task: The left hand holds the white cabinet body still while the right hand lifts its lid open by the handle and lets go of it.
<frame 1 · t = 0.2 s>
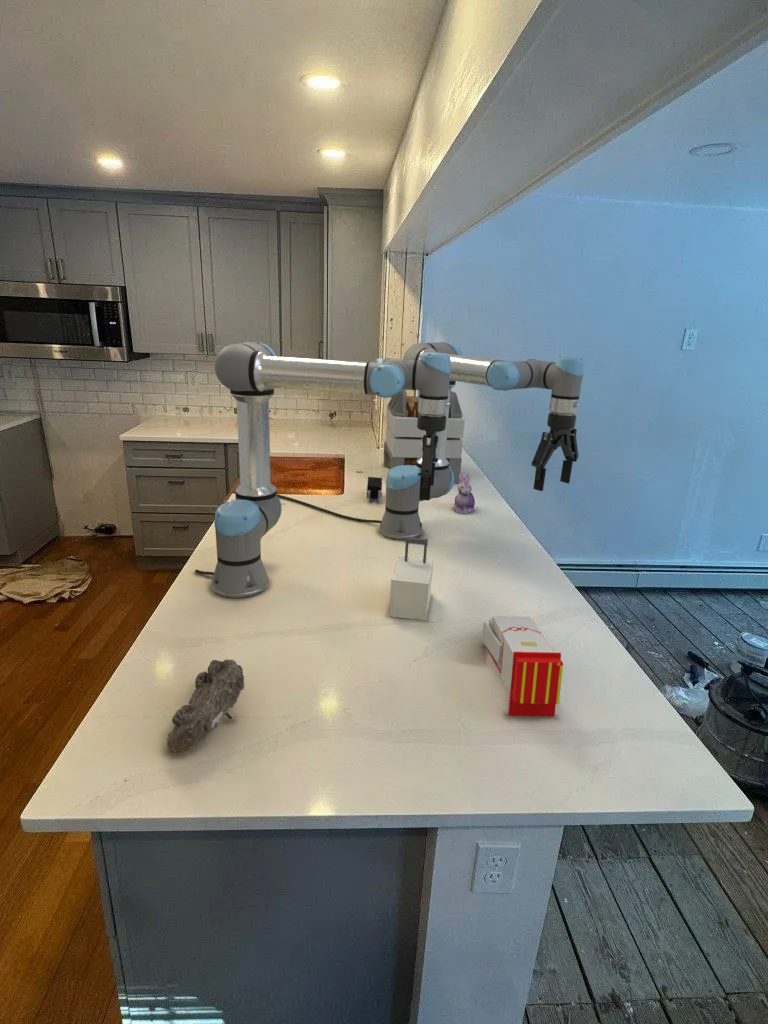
left hand: (426, 492, 155), 28 cm above the counter, tool pointing down, fingers open, 13 cm apart
right hand: (551, 486, 165), 28 cm above the counter, tool pointing down, fingers open, 13 cm apart
figurine: (463, 510, 227), on the counter
figurine character: (374, 498, 235), on the counter
fossil: (212, 717, 108), on the counter
transformer: (419, 473, 275), on the counter
toy: (514, 675, 125), on the counter
white cabinet body: (410, 605, 152), on the counter
lid: (413, 558, 148), point 14 cm above the counter, hinge at 0.0°
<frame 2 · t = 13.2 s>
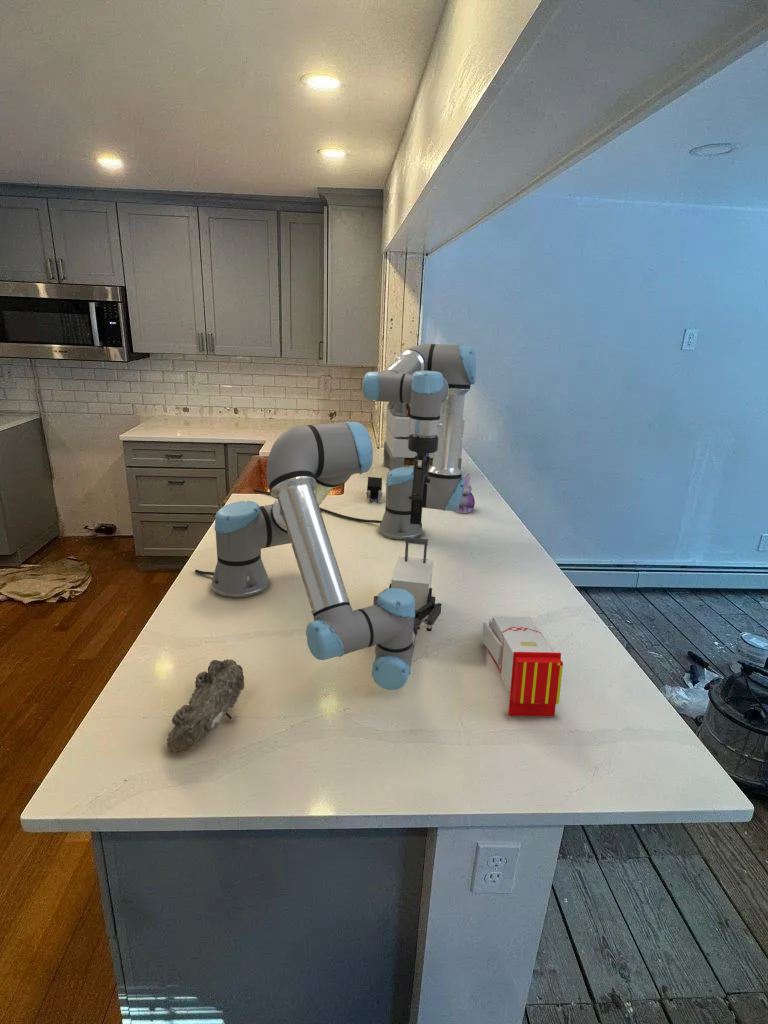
left hand: (410, 590, 147), 6 cm above the counter, tool horizontal, fingers closed on white cabinet body, 9 cm apart
right hand: (418, 514, 149), 24 cm above the counter, tool pointing down, fingers open, 13 cm apart
white cabinet body: (410, 605, 152), on the counter, touching left hand
everything else where it was.
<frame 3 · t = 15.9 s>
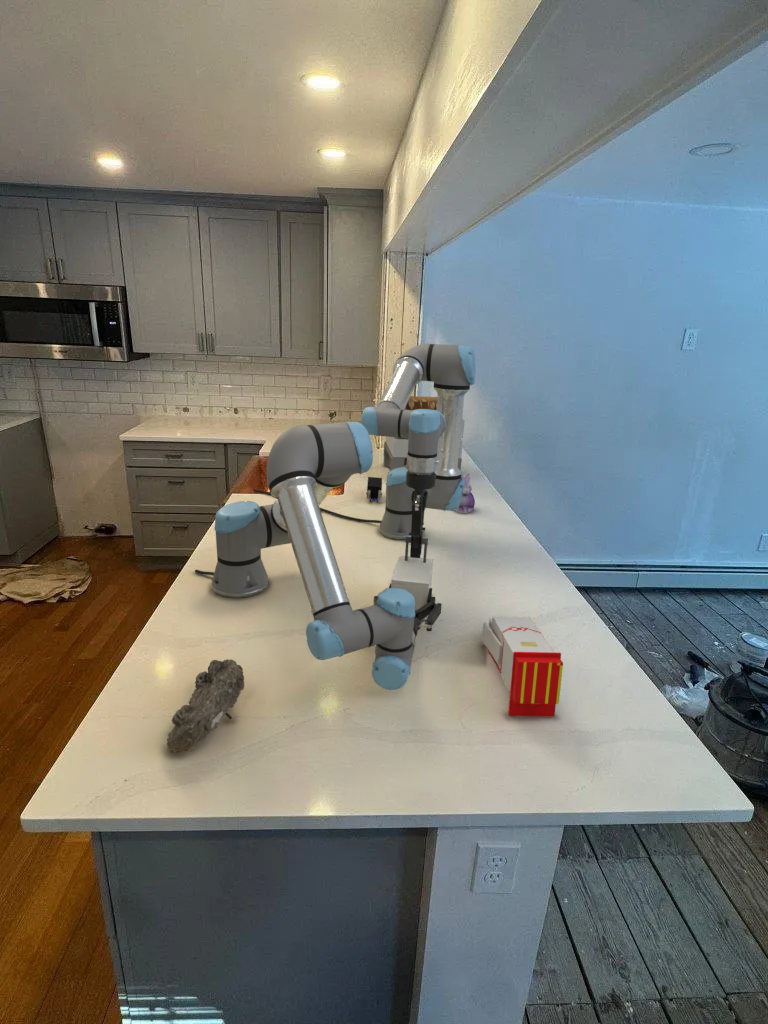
left hand: (410, 590, 147), 6 cm above the counter, tool horizontal, fingers closed on white cabinet body, 9 cm apart
right hand: (415, 555, 153), 12 cm above the counter, tool pointing down, fingers closed on lid, 2 cm apart
white cabinet body: (410, 605, 152), on the counter, touching left hand
lid: (414, 558, 148), point 14 cm above the counter, hinge at 0.8°, touching right hand
everything else where it was.
when the left hand's fingers open (6 cm above the counter, at t = 22.3 s): white cabinet body stays where it is, on the counter.
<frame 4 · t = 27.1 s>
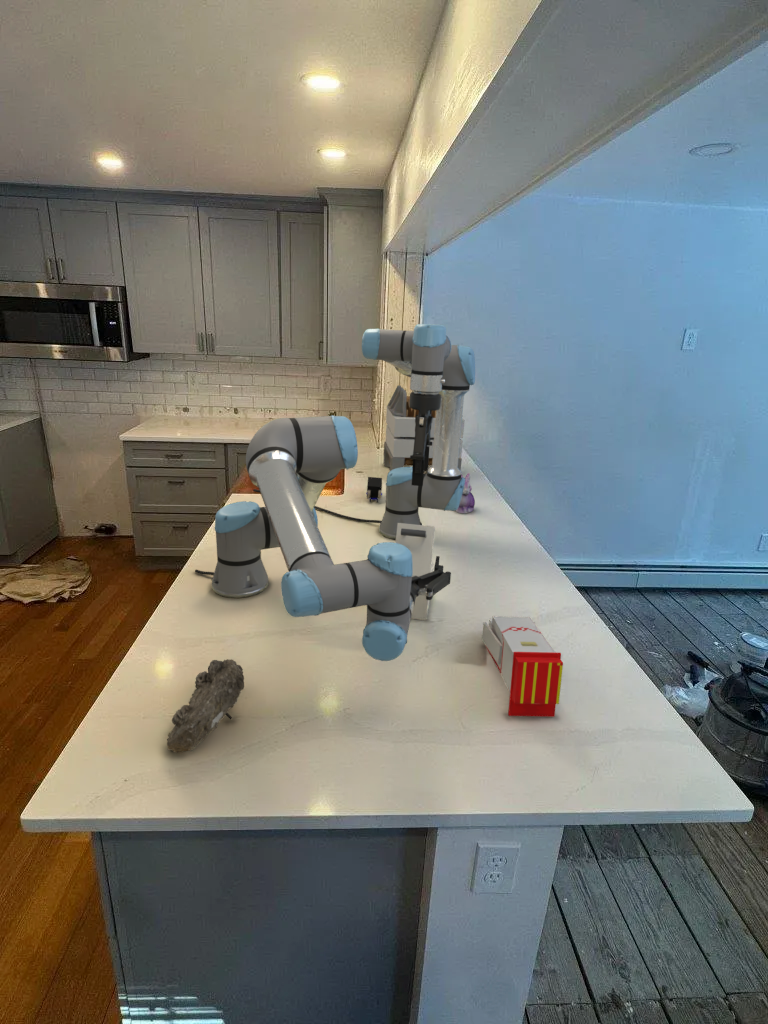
left hand: (407, 558, 130), 21 cm above the counter, tool horizontal, fingers open, 13 cm apart
right hand: (420, 477, 142), 35 cm above the counter, tool pointing down, fingers open, 13 cm apart
white cabinet body: (411, 605, 152), on the counter
lid: (412, 552, 140), point 18 cm above the counter, hinge at 63.2°
everything else where it was.
at the end: lid at +63° (first picture: +0°); the left hand is holding nothing; the right hand is holding nothing; white cabinet body tilted 0°; white cabinet body never tilted more than 1° during the clip; white cabinet body moved 0.1 cm from its start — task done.
